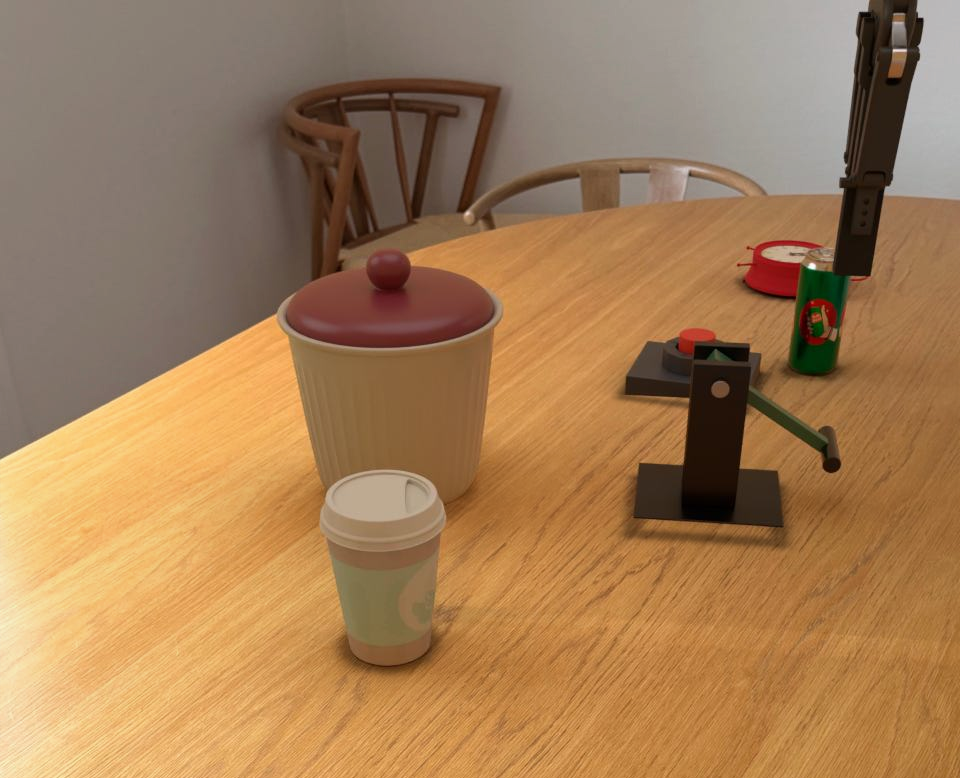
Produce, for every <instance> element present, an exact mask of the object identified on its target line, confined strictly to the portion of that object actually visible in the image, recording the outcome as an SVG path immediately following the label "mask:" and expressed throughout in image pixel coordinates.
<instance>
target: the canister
mask: <svg viewBox="0 0 960 778" xmlns="http://www.w3.org/2000/svg"><path fill="white" fill-rule="evenodd" d="M503 317H504V304H503V302H502V300H501V299H500V297H499V296H498V295H497V294H495V292H493V291H492V290H491V289H488V288H487V287H485V286H483V285H481V284H479V283H478V282H477V281H476V280H473V279H472V278H470V277H468V276H465V275H463V274H459V273H456V272H453V271H451V270H445V269H441V268H436V267H429V266H421V265H412V264H411V261H410V258H409V257H408V255H407V254H406V253H404V252H403V251H402V250H399V249H397V248H391V247H385V248H380V249H377V250H375V251H373V253H371V254H370V255H369V256H368V258H367V260H366V262H365V266H363V267H357V268H350V269H347V270H346V269H345V270H342V271H337V272H334V273H330V274H328V275H326V276H325V275H324V276H322V277H320V278H316V279H314V280H313V281H311V282H309V283H307V284H306V285H304V286H302V287H301V288H300V289H299V290H297V291H296V292H295V293H293V294H291V295H289V297H287V298H286V299H285V300H283V301H282V302H281V304H280V305H279V307H278V309H277V311H276V321H277V324H278V326H279V328H280V329H281V331H282V332H283V333H284V334H285V335H286V336H287V338H288V343H289V348H290V353H291V359H292V363H293V369H294V372H295V377H296V382H297V384H298V385H297V386H298V391H299V396H300V400H301V405H302V410H303V414H304V415H303V416H304V419H305V424H306V428H307V432H308V436H309V441H310V444H311V445H310V446H311V449H312V454H313V457H314V461H315V465H316V469H317V473H318V476H319V479H320V482H321V483H322V485H323V487H324V489H326V492H327V491H328V490H329V489H330V487H331V486H332V485H334V484H335V483H336V482H338V481H339V480H341V479H343V478H345V477H348V476H350V475H353V474H357V473H361V472H366V471H373V470H399V471H406V472H410V473H414V474H417V475H420V476H422V477H424V478H426V479H427V480H429V481H430V482H431V483H432V484H433V485H434V486H435V488H436V490H437V493H438V496H439V498H440V500H441V501H442V503H443V505H444V506H445V505H446V504H450V503H451V502H453V501H455V500H457V499H459V498H460V497H461V496H462V495H465V494H466V492H467V491H468V490H470V488H471V486H472V485H473V483H474V481H475V479H476V476H477V472H478V468H479V464H480V459H481V451H482V444H483V437H484V430H485V422H486V414H487V405H488V397H489V396H488V395H489V388H490V387H489V386H490V375H491V367H492V360H493V351H494V350H493V349H494V338H495V329H496V327H498V325H499V324H500V322H501V320H502V319H503Z"/></svg>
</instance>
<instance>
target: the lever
mask: <svg viewBox="0 0 960 778" xmlns="http://www.w3.org/2000/svg"><path fill="white" fill-rule="evenodd" d="M707 360H716V361H733V360H731V359H730V358H728V357H727V356H725V355H724V354H723V353H721V352H720V351H718V350H717V349H715V350H714V351H713V352H712V353H711V355H710V356H709V357H708V358H707ZM747 405H749V406H751V407H752V408H754V409H755V410H757V411H758V412H759V413H761V414H762V415H764V416H766V417H767V418H768V419H770V420H771V421H773V422H774V423H776V424H777V425H779V427H781V428H782V429H784V430H786V431H787V432H789V433H790V434H791V435H793V436H795V437H796V438H798V439H799V440H801V442H803V443H805V444H806V445H808V446H809V447H811V448H812V449H814V450H815V451H816V452H818V453H819V454H820V460H821V465H822V469H823V471H824V472H826V473H828V474H834V473H837V472H839V470H840V469H841V467H842V461H841V456H840V455H841V454H840V450H839V444H838V440H837V435H836V431H835V428H833V427H832V426H830V425H824V426H821V427H820V428H819V429H818V430H817V429H815V428H814V427H812V426H810V425H809V424H807V423H806V422H805V421H803V420H801V419H800V418H798V417H797V416H796V415H795V414H793V413H791V412H790V411H788V410H787V409H785V408H784V407H782V406H781V405H780V404H779V403H777V402H775V401H774V400H772V399H771V398H769V397H768V396H766V395H765V394H763V393H762V392H761V391H759V390H757V389H756V388H755V387H754V388H753V387H752V386H750V385H749V393H748V401H747Z"/></svg>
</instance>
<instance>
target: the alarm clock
mask: <svg viewBox="0 0 960 778" xmlns="http://www.w3.org/2000/svg"><path fill="white" fill-rule="evenodd" d="M814 248H826V247H825V246H823V245H820V244H818V243H813V242H809V241H804V240H794V239H793V240H792V239H780V240H779V239H777V240H769V241H765V242H762V243H759V244H757V245H756V246H755V247H751V246H750V245H747V246H746V250H748V251H749V250H751V251H753V252H752V261H751V262H747V263H740V262H738V263H737V264H736V266H737V267H738V268H740V267H749V266H750V267H749V269H748V270H747V272H746V274H745V276H743V277H742V278H741V279H742V282H743V281H744V280H745V283H746V285H748V287H750V288H752V289H754V290H756V291H759V292H763V293H766V294H770V295H776V296H783V297H785V296H786V297H796V295H797V288H798V280H799V273H800V265H801V262H802V260H803V259H804V258H805V257H806V252H807V251H808V250H810V249H814ZM868 279H869V277H867V276H864V277H862V278H851V280H850V282H861V281H865V280H868Z"/></svg>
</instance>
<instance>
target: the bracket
mask: <svg viewBox="0 0 960 778" xmlns="http://www.w3.org/2000/svg"><path fill="white" fill-rule="evenodd" d="M715 349H717V350H718V351H720V352H721V353H723V354H724V355H725V356H727V357H728V358H730V359H731V360H733V361H716V360H707V358H708V357H709V356H710V355H711V353H712V352H713V351H714V350H715ZM750 352H751V343H749V342H732V341H731V342H729V341H723V342H710V341H694V351H693V362H692V373H691V385H690V396H689V398H688V409H687V419H686V431H685V443H684V454H683V464H670V463H669V464H668V463H651V462H639V463H638V470H637V479H636V480H637V481H636V490H635V499H634V509H633V519H640V520H641V519H643V520H656V521H657V520H658V521H672V522H690V523H705V524H720V525H721V524H722V525H735V526H736V525H737V526H751V527H752V526H753V527H767V528H768V527H769V528H784V520H783V519H784V518H783V510H782V499H781V490H780V489H781V488H780V478H779V471H778V470H775V469H773V470H772V469H756V468H755V469H754V468H741V460H742V452H743V451H742V450H743V442H744V436H745V435H744V433H745V425H746V416H747V409H748V403H747V401H748V393H749V384H750V376H751V362H749V353H750Z"/></svg>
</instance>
